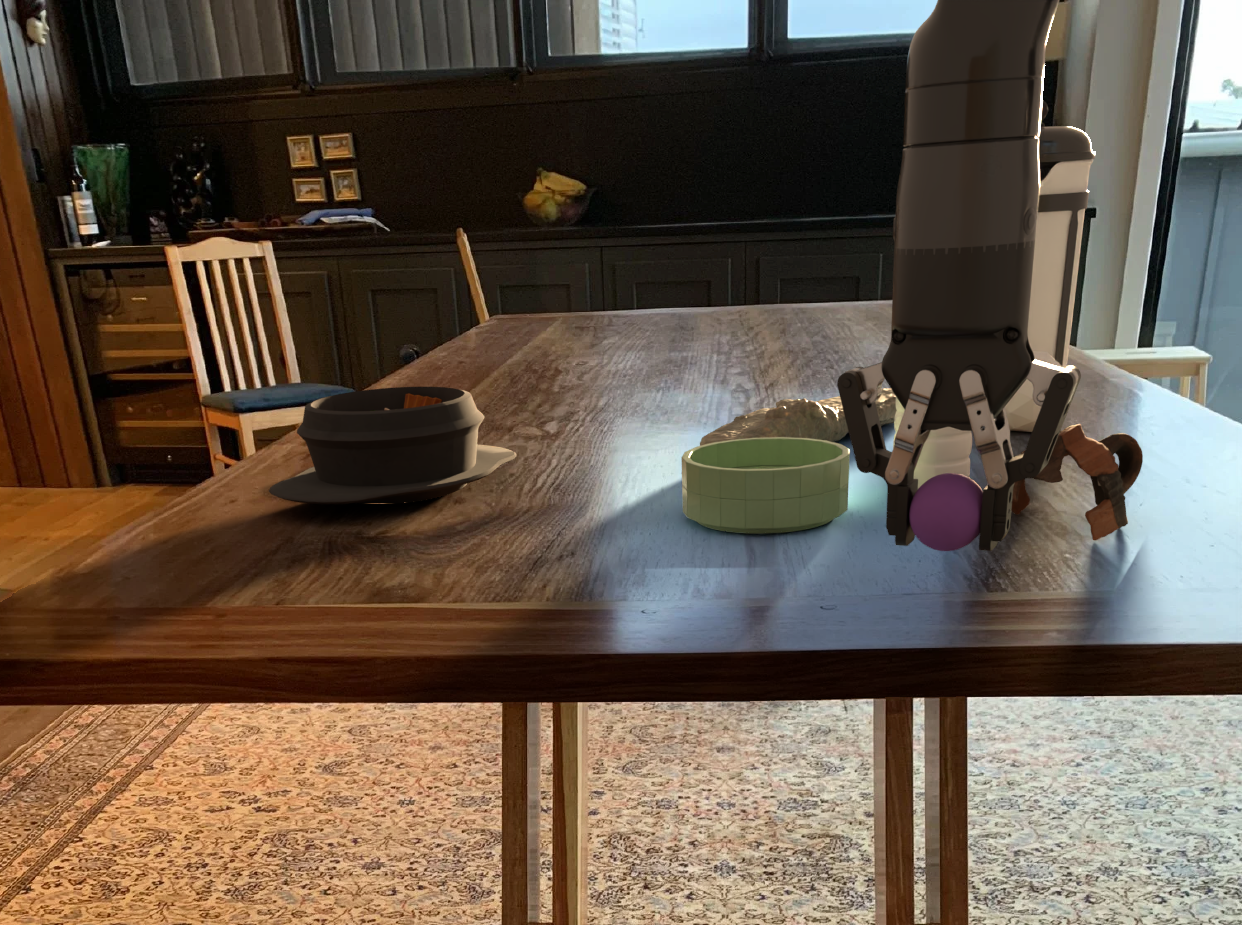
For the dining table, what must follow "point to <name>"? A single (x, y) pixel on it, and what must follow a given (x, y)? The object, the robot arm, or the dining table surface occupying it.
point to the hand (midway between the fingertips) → (945, 543)
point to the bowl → (765, 484)
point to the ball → (947, 512)
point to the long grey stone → (799, 420)
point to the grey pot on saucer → (391, 447)
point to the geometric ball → (1026, 401)
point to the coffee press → (1058, 236)
